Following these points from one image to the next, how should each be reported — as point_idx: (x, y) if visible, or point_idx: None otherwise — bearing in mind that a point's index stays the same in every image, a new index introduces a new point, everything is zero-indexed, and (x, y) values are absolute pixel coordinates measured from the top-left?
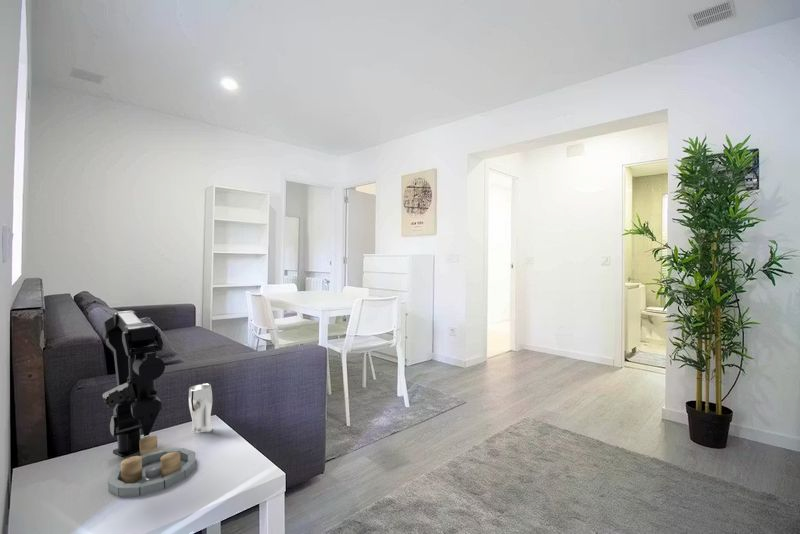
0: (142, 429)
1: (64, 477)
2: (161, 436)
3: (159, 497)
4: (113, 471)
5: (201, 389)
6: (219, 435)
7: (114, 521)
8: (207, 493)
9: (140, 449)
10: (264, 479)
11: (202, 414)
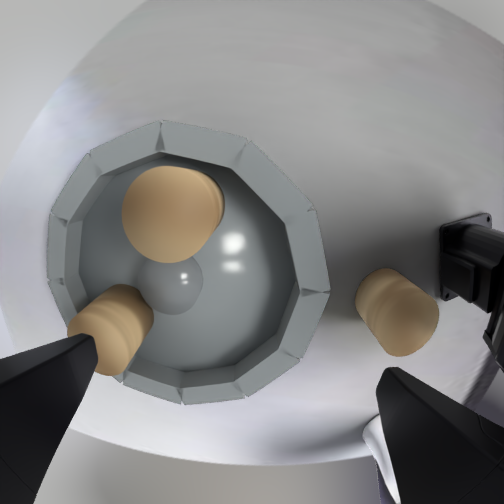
0: (27, 351)
1: (426, 67)
2: (463, 342)
3: None
4: (253, 147)
5: None
6: (318, 449)
7: (34, 145)
8: (30, 329)
9: (396, 282)
10: None
11: (382, 473)
